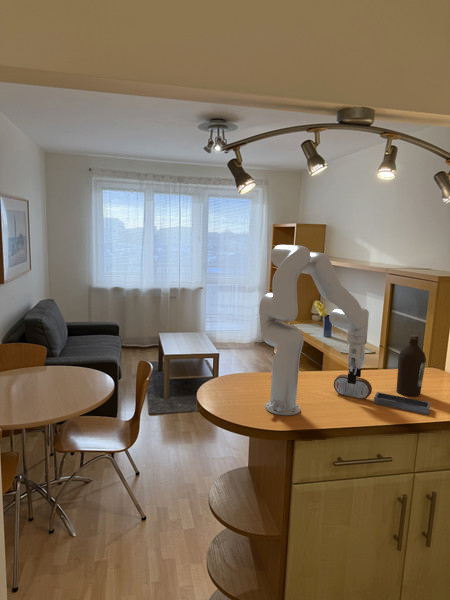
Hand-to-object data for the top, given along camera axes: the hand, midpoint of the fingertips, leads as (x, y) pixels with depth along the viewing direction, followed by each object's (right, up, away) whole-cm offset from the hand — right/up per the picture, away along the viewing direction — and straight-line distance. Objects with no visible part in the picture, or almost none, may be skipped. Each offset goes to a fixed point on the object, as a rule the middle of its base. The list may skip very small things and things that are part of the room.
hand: (354, 379), depth 174 cm
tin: (-1, -7, +1) cm, 7 cm away
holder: (+16, -9, -7) cm, 20 cm away
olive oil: (+26, -7, +8) cm, 28 cm away
